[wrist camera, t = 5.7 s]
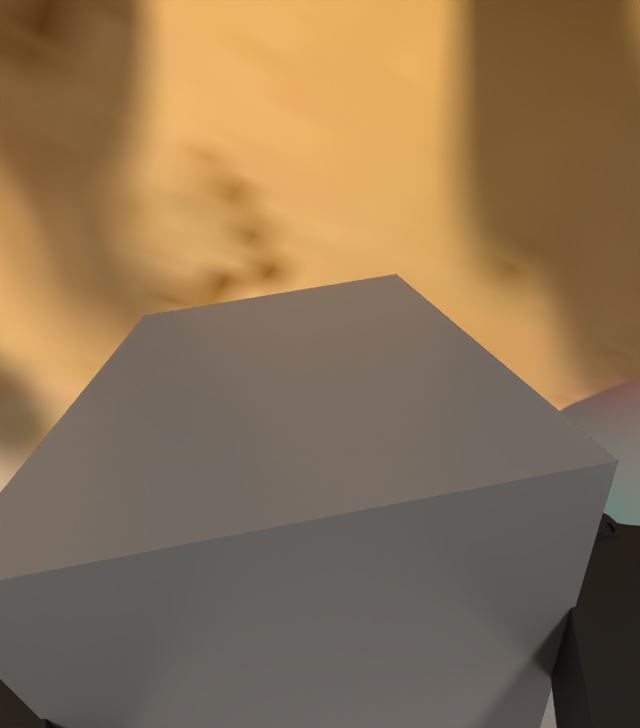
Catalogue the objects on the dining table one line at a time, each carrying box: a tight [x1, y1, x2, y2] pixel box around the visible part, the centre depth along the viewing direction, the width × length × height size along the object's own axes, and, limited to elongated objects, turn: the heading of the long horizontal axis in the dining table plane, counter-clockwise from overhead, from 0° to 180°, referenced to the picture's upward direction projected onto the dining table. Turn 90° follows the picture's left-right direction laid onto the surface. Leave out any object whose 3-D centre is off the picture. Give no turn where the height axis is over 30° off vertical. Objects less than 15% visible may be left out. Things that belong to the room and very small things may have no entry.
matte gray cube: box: [0, 274, 618, 728], centre depth 11 cm, size 9×9×10 cm
